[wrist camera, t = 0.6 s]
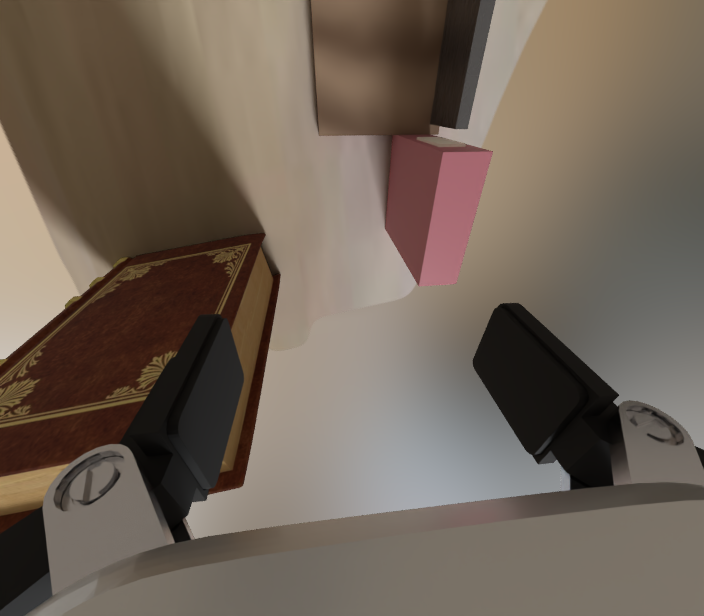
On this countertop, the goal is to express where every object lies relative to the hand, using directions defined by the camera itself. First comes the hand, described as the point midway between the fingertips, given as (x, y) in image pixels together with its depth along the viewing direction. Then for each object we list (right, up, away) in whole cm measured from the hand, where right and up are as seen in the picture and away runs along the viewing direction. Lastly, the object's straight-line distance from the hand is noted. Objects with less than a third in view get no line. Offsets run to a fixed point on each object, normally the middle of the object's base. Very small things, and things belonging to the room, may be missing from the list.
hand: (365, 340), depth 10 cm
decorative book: (-23, +7, +31) cm, 39 cm away
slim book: (+6, +18, +27) cm, 33 cm away
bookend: (+9, +28, +17) cm, 34 cm away
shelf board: (+2, +29, +18) cm, 34 cm away
